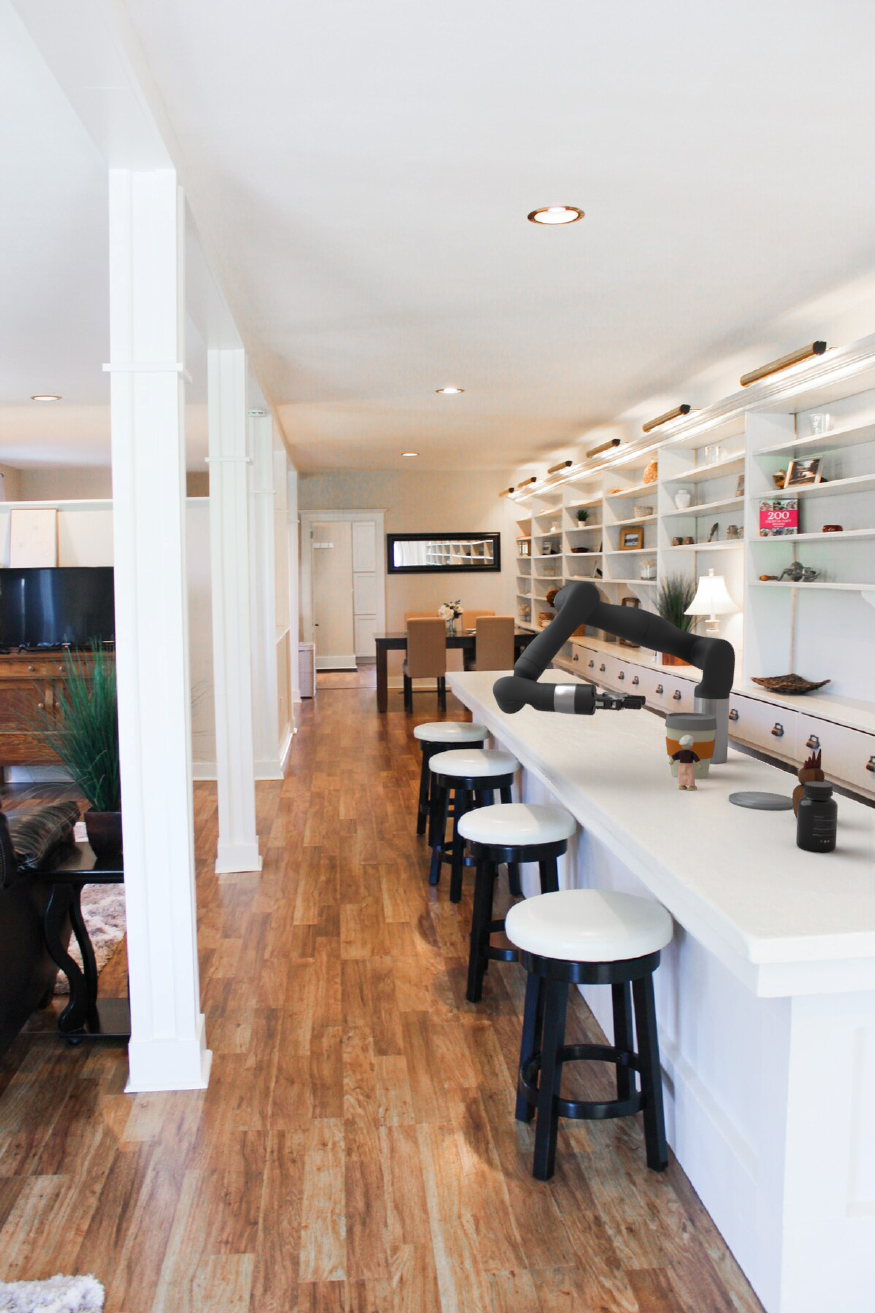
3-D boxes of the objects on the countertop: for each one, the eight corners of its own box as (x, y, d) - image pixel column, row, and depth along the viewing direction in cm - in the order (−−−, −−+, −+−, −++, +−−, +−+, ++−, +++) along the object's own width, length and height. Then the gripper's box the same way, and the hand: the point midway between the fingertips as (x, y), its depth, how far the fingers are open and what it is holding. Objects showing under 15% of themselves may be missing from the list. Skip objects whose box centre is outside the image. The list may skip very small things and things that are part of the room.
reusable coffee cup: (659, 777, 232) (661, 717, 231) (667, 768, 244) (669, 711, 242) (712, 782, 227) (714, 721, 226) (717, 772, 239) (719, 714, 238)
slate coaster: (729, 792, 216) (729, 789, 216) (794, 798, 212) (794, 794, 212) (728, 806, 203) (728, 802, 203) (797, 812, 199) (797, 808, 199)
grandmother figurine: (702, 788, 221) (704, 735, 220) (701, 791, 217) (703, 737, 216) (668, 785, 224) (670, 732, 222) (667, 789, 220) (669, 735, 219)
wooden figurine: (822, 818, 194) (825, 746, 193) (831, 826, 188) (834, 752, 187) (788, 817, 195) (791, 746, 193) (796, 824, 189) (799, 751, 188)
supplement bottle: (789, 843, 176) (792, 780, 175) (824, 842, 176) (827, 779, 175) (806, 854, 169) (809, 788, 168) (843, 853, 169) (846, 788, 168)
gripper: (570, 686, 220) (640, 690, 215) (580, 680, 233) (647, 683, 228) (569, 718, 221) (639, 722, 215) (579, 710, 234) (646, 714, 229)
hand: (643, 702), depth 222 cm, fingers open, 8 cm apart
